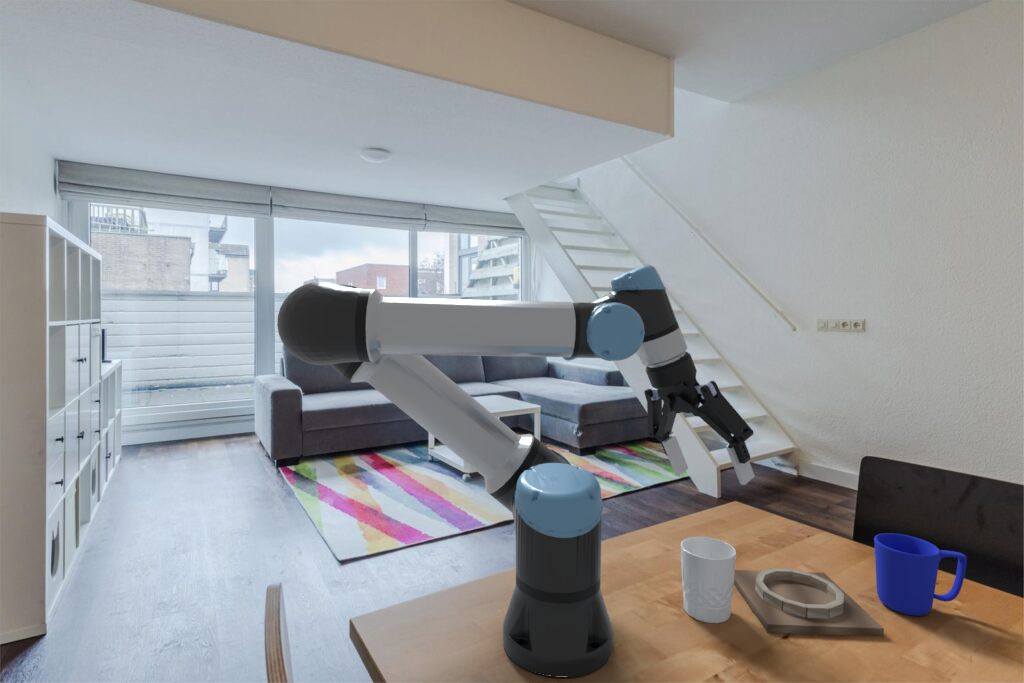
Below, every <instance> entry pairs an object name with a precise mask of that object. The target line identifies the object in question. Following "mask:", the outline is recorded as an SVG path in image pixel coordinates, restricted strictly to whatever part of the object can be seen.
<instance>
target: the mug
mask: <svg viewBox="0 0 1024 683" xmlns="http://www.w3.org/2000/svg"><path fill="white" fill-rule="evenodd" d="M873 540H874V542H873V543H874V557H875V558H874V559H875V561H874V562H875V580H876V582H875V584H876V593H877V597H878V599H879V600H880V602H881V603H882V604H883V605H885V606H886V607H887V608H889V609H891V610H893V611H895V612H898V613H901V614H903V615H909V616H918V617H919V616H925V615H928V613H930V612H931V611H932V609H933V604H934V599H935V600H937V601H941V602H951V601H953V600H955V599H957V597H958V596H959V594H960V592H961V590H962V587H963V583H964V579H965V574H966V569H967V563H968V561H967V560H968V559H967V558H968V557H967V555H965V554H964V553H963V552H958V551H953V550H945V549H944V550H943V549H939V547H938V546H936V545H935V544H933V543H931V542H929V541H927V540H925V539H921V538H918V537H915V536H911V535H907V534H903V533H893V532H889V533H888V532H884V533H879V534H876V535H875V536H874V538H873ZM944 558H957V566H956V573H955V576H954V577H955V578H954V580H953V581H954V582H953V583H952V587H951V588H950V590H948V592H947V593H944V594H937V593H936V592H935V591H936V584H937V579H938V572H939V565H940V562H941V560H942V559H944Z"/></svg>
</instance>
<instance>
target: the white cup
mask: <svg viewBox="0 0 1024 683" xmlns="http://www.w3.org/2000/svg"><path fill="white" fill-rule="evenodd" d="M736 558H737V551H736V548H735V547H733V546H732V544H730V543H728V542H726V541H724V540H721V539H717V538H713V537H707V536H693V537H692V536H691V537H687V538H685V539H683V540H682V541H681V542H680V560H681V562H680V564H681V566H680V567H681V568H680V569H681V571H680V572H681V585H682V594H683V595H682V596H683V598H682V599H683V610H684V611H685V613H686V614H687V615H688V616H690V617H691V618H693V619H695V620H697V621H700V622H704V623H706V624H720V623H725V622H726V621H728V620H729V619H730V618H731V611H732V610H731V609H732V599H733V592H734V587H735V585H734V575H735V570H736Z"/></svg>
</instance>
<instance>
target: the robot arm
mask: <svg viewBox="0 0 1024 683" xmlns="http://www.w3.org/2000/svg"><path fill="white" fill-rule="evenodd" d="M610 286H611V291H610V292H609V293H607V294H605V295H604V296H601V297H599V298H596V299H593V300H591V301H589V302H573V301H570V302H569V301H542V300H541V301H539V300H501V299H498V300H497V299H470V298H467V299H465V298H463V299H462V298H429V297H428V298H427V297H423V298H422V297H395V296H394V297H390V296H386V297H385V296H383V294H382V293H380V292H379V290H377V289H376V288H375V289H374V288H358V287H357V286H354V285H350V284H343V283H342V284H341V283H340V284H338V283H334V282H329V281H314V282H313V281H312V282H309V283H306V284H303V285H301V286H299V287H297V288H295V289H294V290H293V291H291V292H290V293H289V294H288V296H286V298H285V299H284V301H283V302H282V304H281V305H280V308H279V311H278V314H277V324H276V326H277V332H278V335H279V338H280V341H281V342H282V345H283V346H284V347H285V348H286V350H287V351H288V352H289V353H290V354H291V355H292V356H294V357H295V358H296V359H297V360H300V361H302V362H304V363H308V364H311V365H315V366H331V367H332V369H334V370H336V372H338V373H339V374H341V375H342V376H343V377H344V378H345V379H346V380H348V381H349V382H350V383H368V384H369V385H370V386H371V387H372V388H374V389H375V390H376V391H378V392H379V393H380V394H381V395H383V396H384V397H385V398H386V399H387V400H389V401H390V402H391V403H392V404H393V405H395V406H397V407H398V409H400V410H401V411H402V412H404V413H405V414H406V415H407V416H408V417H409V418H411V419H412V420H413V421H414V422H416V423H417V424H418V425H419V426H421V427H422V428H423V429H424V430H425V431H426V432H428V434H430V435H431V436H433V437H434V438H435V439H437V440H438V441H439V442H440V443H442V444H443V445H444V446H445V447H447V448H448V449H449V450H450V451H452V452H453V453H454V455H456V456H458V458H460V459H461V460H462V461H464V462H465V464H467V465H469V466H470V467H471V468H472V469H474V470H475V471H476V472H477V473H478V474H480V475H481V476H482V477H483V478H484V484H485V485H484V486H485V492H487V494H489V495H490V496H491V497H492V498H494V499H495V500H496V501H497V502H498V503H500V504H501V505H502V506H503V507H505V508H506V509H507V510H508V511H509V512H510V513H512V518H513V523H514V527H515V528H514V529H515V587H514V590H513V593H512V595H511V598H510V601H509V604H508V607H507V610H506V614H505V616H504V620H503V624H502V645H503V648H504V651H505V653H506V654H507V656H508V657H509V658H510V659H511V660H512V661H513V662H514V663H515V664H516V665H518V666H519V667H521V668H523V669H524V668H526V669H527V670H526V669H525V670H526V671H528V670H530V671H529V672H531V671H533V672H536V673H540V674H544V675H551V676H568V677H567V678H574V677H575V676H576V677H579V676H584V675H588V674H590V673H593V672H595V671H597V670H598V669H601V667H603V665H604V666H605V664H606V663H607V662H608V661H609V659H610V658H611V657H612V653H613V646H614V631H613V626H612V622H611V619H610V615H609V612H608V609H607V606H606V603H605V600H604V596H603V593H602V589H601V574H602V572H601V570H602V569H601V568H602V565H601V564H602V563H601V562H602V519H603V518H602V516H603V514H602V513H603V512H604V511H603V509H604V506H603V505H604V502H603V498H602V490H601V486H600V482H599V481H598V479H597V478H596V477H595V476H594V475H593V474H592V473H591V472H589V470H587V469H584V468H579V467H578V466H577V465H573V464H571V463H570V462H569V460H568V459H567V458H566V457H565V456H564V455H562V453H560V452H557V451H556V450H554V449H551V448H549V447H547V446H546V445H545V444H544V443H543V442H541V441H540V440H539V439H538V438H537V437H536V436H534V435H533V434H532V433H526V434H518V433H516V432H515V431H513V430H512V429H511V428H510V427H509V426H508V425H507V424H505V423H504V422H503V421H501V420H500V419H499V418H498V417H496V416H495V414H493V413H492V412H491V411H489V410H488V409H487V408H486V407H485V406H483V404H481V403H480V402H479V401H477V400H476V399H475V398H474V397H473V396H471V395H470V394H469V393H468V392H466V391H465V390H464V389H463V388H462V387H461V386H459V385H458V384H457V383H456V382H455V381H453V380H452V379H451V378H450V377H449V376H447V375H446V374H445V373H444V372H443V371H441V370H440V369H439V368H438V367H436V365H434V364H433V363H432V362H430V361H429V360H428V359H427V358H426V357H424V356H457V357H458V356H461V357H462V356H463V357H464V356H467V357H468V356H470V357H471V356H472V357H473V356H474V357H475V356H478V357H525V358H526V357H527V358H528V357H531V358H533V357H534V358H537V357H540V358H544V357H545V358H562V359H564V360H565V361H568V362H569V361H573V360H575V359H578V358H580V359H602V360H604V361H607V362H613V361H614V362H615V361H617V362H618V361H623V360H627V359H629V358H631V357H632V356H633V355H635V354H636V353H638V355H639V358H640V361H641V364H642V365H643V366H644V365H645V369H644V370H645V372H646V375H647V378H648V380H649V383H650V385H651V386H650V387H649V388H646V389H644V395H645V399H646V408H647V411H646V413H647V414H646V415H647V436H648V437H650V438H656V439H657V441H659V442H660V444H661V447H662V449H663V451H664V454H665V456H666V457H668V460H669V462H670V466H671V467H672V471H673V473H674V476H677V477H679V476H681V475H682V474H683V473H685V472H686V471H688V469H689V466H688V464H687V461H686V459H685V456H684V453H683V451H682V449H681V447H680V444H679V441H678V439H677V436H676V435H675V434H674V431H672V430H673V426H674V423H675V421H676V417H677V414H681V413H684V414H692V415H693V416H694V417H699V418H700V419H701V420H702V421H703V422H704V423H706V424H707V425H708V426H709V427H710V428H711V429H712V430H713V431H714V432H715V433H717V434H718V436H720V437H721V438H722V439H723V440H725V442H727V443H728V444H727V445H726V446H725V448H726V450H727V454H728V456H729V458H730V461H731V463H732V466H733V469H734V471H735V473H736V477H737V479H738V482H739V484H740V485H742V486H745V485H747V484H748V483H749V482H750V481H751V480H753V479H754V478H755V476H756V475H755V473H754V470H753V468H752V465H751V463H750V460H751V454H750V452H749V449H748V447H747V444H746V441H747V440H748V439H749V438H750V437H752V436H753V435H754V432H755V431H754V430H753V429H752V428H751V426H750V425H749V424H748V423H747V422H746V421H745V420H744V419H743V417H742V416H741V415H740V414H739V413H738V411H737V410H736V409H735V408H734V407H733V406H732V404H731V403H730V402H729V401H728V400H727V398H726V397H725V396H724V395H723V393H722V392H721V391H720V388H719V386H718V384H717V383H716V381H715V380H710V381H709V382H707V383H704V384H700V383H699V381H698V380H697V378H696V377H697V372H698V370H697V367H696V365H695V363H694V360H693V358H692V357H693V356H692V355H691V353H689V352H688V351H687V350H688V345H687V343H686V340H685V338H684V336H683V332H682V329H681V327H680V325H679V323H678V321H677V318H676V315H675V312H674V310H673V307H672V304H671V301H670V298H669V296H668V292H667V291H666V290H667V289H666V287H665V284H664V282H663V281H662V279H661V277H660V274H659V273H658V270H657V269H656V267H655V266H653V265H650V264H646V265H642V266H639V267H636V268H634V269H631V270H629V271H627V272H624V273H622V274H620V275H617V276H615V277H613V278H612V279H611V282H610ZM700 404H701V405H700ZM732 435H733V436H732ZM533 672H532V673H533ZM536 673H535V674H536ZM540 674H539V675H540ZM544 675H543V676H544Z"/></svg>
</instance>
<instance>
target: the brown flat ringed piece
mask: <svg viewBox="0 0 1024 683" xmlns="http://www.w3.org/2000/svg"><path fill="white" fill-rule="evenodd" d="M734 587H735V588H736V590H737V591H738V592H739V594H740V595H741V597H742V599H743V600H744V601H745V603H746V604H747V605H748V607H749V608H750V610H751V611H752V613H753V614H754V615H755V617H756V618H757V619H758V620H757V621H759V623H760V624H761V625H762V627H763V628H764V630H765V631H766V633H772V634H773V633H775V634H803V635H827V636H828V635H829V636H831V635H832V636H855V637H856V636H857V637H880V638H883V637H884V634H885V633H884V632H885V628H884V627H883V626H882V625H881V624H880V623H879V622H877V621H876V620H875V618H874V617H872V616H871V614H869V613H868V612H867V611H866V610H865V609H863V607H862V606H860V605H859V603H857V602H856V601H855V600H854V599H853V598H852V597H851V596H850V595H848V594H847V593H846V592H845V591H844V589H842V588H841V587H840V586H839V585H838V584H837V583H836V582H835V581H834V580H833V579H832V578H831V577H829V576H828V574H826V573H825V572H813V571H812V572H811V571H808V572H807V571H801V570H797V569H794V568H781V567H780V568H779V567H775V568H774V567H773V568H768V569H764V570H745V569H743V570H742V569H735V575H734Z"/></svg>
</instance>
